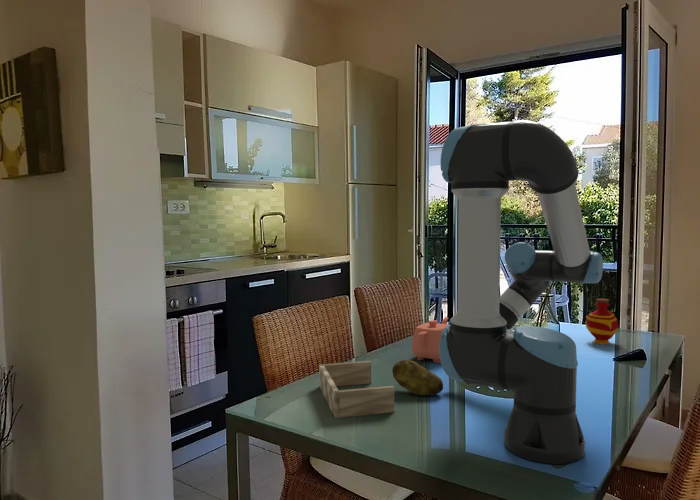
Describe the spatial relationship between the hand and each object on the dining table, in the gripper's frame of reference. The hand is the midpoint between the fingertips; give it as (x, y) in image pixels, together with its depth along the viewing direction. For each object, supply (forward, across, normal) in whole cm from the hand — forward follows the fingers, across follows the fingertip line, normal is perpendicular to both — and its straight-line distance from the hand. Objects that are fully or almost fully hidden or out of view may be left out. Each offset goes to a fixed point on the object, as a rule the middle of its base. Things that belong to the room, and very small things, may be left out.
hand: (449, 376), depth 142 cm
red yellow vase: (-46, +31, -51) cm, 76 cm away
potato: (+9, 0, +4) cm, 10 cm away
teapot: (-2, +29, -8) cm, 30 cm away
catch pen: (+20, 0, +15) cm, 25 cm away
